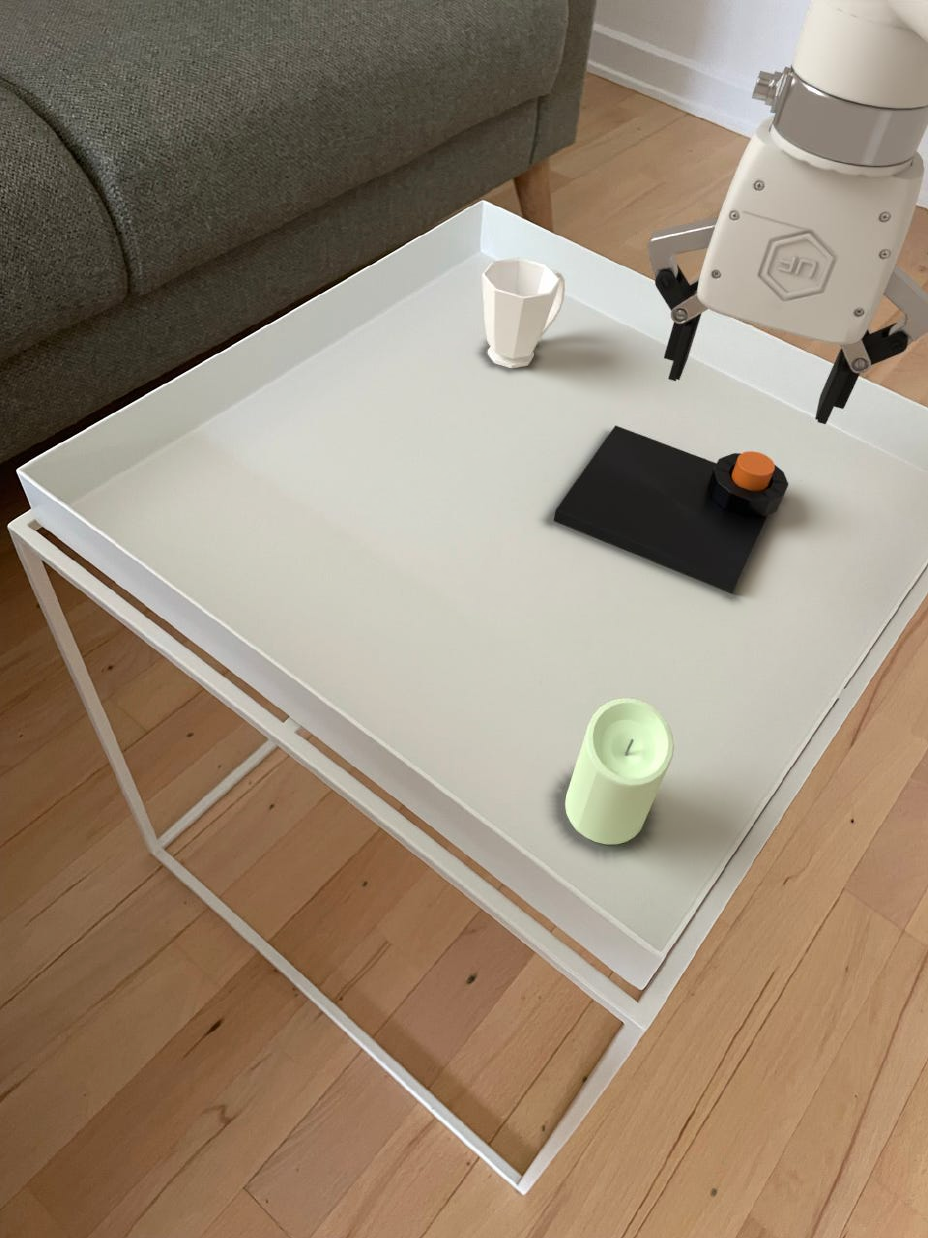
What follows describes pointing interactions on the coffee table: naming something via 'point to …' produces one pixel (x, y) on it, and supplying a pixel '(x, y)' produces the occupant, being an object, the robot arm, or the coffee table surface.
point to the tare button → (753, 471)
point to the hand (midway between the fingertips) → (749, 390)
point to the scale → (670, 507)
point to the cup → (519, 308)
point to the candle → (618, 771)
